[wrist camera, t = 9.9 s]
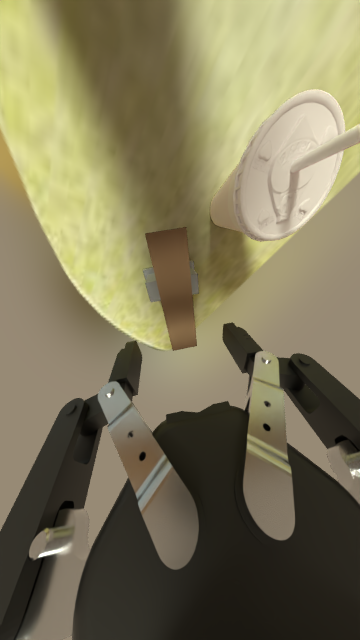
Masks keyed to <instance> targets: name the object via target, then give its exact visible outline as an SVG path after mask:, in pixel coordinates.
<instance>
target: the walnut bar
mask: <svg viewBox="0 0 360 640" xmlns="http://www.w3.org/2000/svg"><path fill="white" fill-rule="evenodd" d="M145 235H146V240H147V244H148V248H149V252H150V257H151V261H152V265H153V269H154V273H155V278H156V282H157V286H158V290H159V294H160V299H161V303H162V307H163V311H164V316H165V320H166V324H167V328H168V332H169V337H170V341H171V345H172V349H173V351H174V350H179V349H184V348H188V347H194V346H197V341H196V330H195V319H194V308H193V297H192V286H191V274H190V263H189V252H188V241H187V230H186V227H183V228H177V229H171V230H164V231H158V232H152V233H146V234H145Z"/></svg>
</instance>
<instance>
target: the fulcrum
mask: <svg viewBox="0 0 360 640" xmlns="http://www.w3.org/2000/svg"><path fill="white" fill-rule="evenodd" d="M189 263H190V274H191V286H192V295H193V294H199V287H198V274H197V273H196V272H195V271H194V261H189ZM143 273H144V276H145V280H146V282H145V284H146V288H147V291H148V295H149V298H150V301H151V302H155V301H161V299H160V294H159V290H158V286H157V282H156V278H155V273H154V269H153V267H152V268H146V269H143Z"/></svg>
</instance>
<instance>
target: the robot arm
mask: <svg viewBox="0 0 360 640" xmlns="http://www.w3.org/2000/svg"><path fill="white" fill-rule="evenodd" d="M223 342H224V344H225V345H226V347H227V349H228V350H229V352H230V354H231V355H232V357H233V359H234V360H235V362H236V364H237V365H238V367H239V368H240V370H241V372H242V373H248V374H249V380H248V386H247V393H246V400H245V404H244V409H241V408H238V407H235V406H230V405H229V402H228V401H227V402H222V403H217V404H213V405H211V406H210V407H208V408H206V409H204V410H202V411H201V412H198V413H195V412H184V411H181V412H177V413H171V414H167V415H166V420H165V421H163V422H162V423H161V424H160V425H159V426H158V427H157V428H156V429H155V430H154V431H153V432H152V431H151V430H150V428H149V426H148V425H147V424H146V422H145V421H144V419H143V418H142V416H141V415H140V413H139V412H138V410H137V409H136V407H135V406H134V404H133V403H132V397H133V396H135V395H138V387H139V379H140V371H141V363H142V354H141V351H140V349H139V346H138V344H137V342H136V341H132V342H127V343H126V346H125V349H122V350H121V351H120V352H119V353H118V354H117V358H116V361H115V363H114V367H113V370H112V373H111V376H110V379H109V382H108V383H107V384H106V385H105V386H103V387H102V388H101V390H100V391H99V393H98V394H97V395H95V396H93V397H91V398H89V399H87V400H85V401H84V400H83V399H81V398H76V399H74V400H72V401H70V402H69V403H67V404H66V405H65V406H64V407H63V408H62V409H61V411H60V413H59V414H58V417H57V418H56V421H55V423H54V425H53V426H52V429H51V431H50V433H49V435H48V437H47V439H46V441H45V443H44V445H43V447H42V449H41V451H40V453H39V455H38V457H37V459H36V461H35V463H34V465H33V467H32V469H31V471H30V473H29V475H28V477H27V479H26V481H25V483H24V485H23V487H22V489H21V491H20V493H19V495H18V497H17V499H16V501H15V503H14V506H13V507H12V509H11V511H10V513H9V515H8V517H7V519H6V521H5V523H4V525H3V527H2V529H1V531H0V640H63V639H65V638H67V637H70V636H72V640H360V399H359V398H358V397H356V396H355V395H354V394H353V393H352V392H351V391H349V390H348V389H347V388H346V387H345V386H344V385H343V384H341V383H340V382H339V381H338V380H337V379H336V378H335V377H333V376H332V375H331V374H330V373H329V372H327V370H325V369H324V368H323V367H322V366H321V365H320V364H318V363H317V362H316V361H315V360H314V359H312V358H311V357H309V356H307V355H304V354H293V355H292V356H291V358H278V357H276V356H274V355H273V354H271V353H269V352H266V351H263V350H262V349H261V347H260V346H259V345H258V344H257V343H256V342H255V341H254V340H253V339H252V338H251V336H250V335H248V333H247V332H246V331H245V330H244V329H242V328H240V327H236V326H235V325H234V323H227V324H224V326H223ZM282 388H283V389H284V391H285V392H286V393H287V395H288V396H289V397H290V399H291V400H292V401H293V403H294V404H295V406H296V407H297V408H298V410H299V411H300V412H301V414H302V415H303V416H304V418H305V419H306V421H307V422H308V423H309V425H310V426H311V427H312V429H313V430H314V431H315V433H316V434H317V436H318V437H319V438H320V440H321V441H322V442H323V444H324V445H325V446H326V448H327V449H328V451H327V457H328V460H329V462H330V466H331V469H332V470H333V472H334V473H335V474H336V475H337V478H338V481H336V480H335V479H334V478H332V477H331V476H330V475H328V474H327V473H326V472H325V471H323V470H322V469H321V468H320V467H318V466H317V465H316V464H314V463H313V462H312V461H310V460H309V459H308V458H307V457H305V456H304V455H303V454H301V453H300V452H299V451H298V450H296V449H295V448H294V447H292V446H291V445H290V444H288V443H287V439H286V423H285V409H284V408H285V407H284V392H283V389H282ZM309 388H310V389H309ZM108 423H109V425H108V430H109V433H110V435H111V437H112V439H113V442H114V444H115V447H116V449H117V451H118V454H119V456H120V458H121V461H122V463H123V466H124V468H125V470H126V472H127V475H128V479H127V481H126V483H125V485H124V487H123V489H122V490H121V492H120V494H119V496H118V498H117V500H116V502H115V504H114V506H113V507H112V509H111V511H110V513H109V515H108V517H107V519H106V521H105V522H104V525H103V526H102V528H101V530H100V532H99V534H98V536H97V538H96V539H95V542H94V544H93V546H92V548H91V550H90V548H89V544H88V531H89V516H88V513H87V511H86V510H85V509H84V505H85V501H86V497H87V492H88V488H89V484H90V479H91V475H92V471H93V466H94V462H95V458H96V453H97V450H98V445H99V441H100V437H101V433H102V428H103V426H105V425H107V424H108Z"/></svg>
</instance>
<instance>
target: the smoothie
mask: <svg viewBox="0 0 360 640" xmlns="http://www.w3.org/2000/svg"><path fill="white" fill-rule="evenodd" d="M358 143H360V124H358V125H356V126H355V127H353V128H351V129H349V130H348V131H346V132H345V122H344V117H343V113H342V110H341V108H340V106H339V104H338V102H337V101H336V99H335V98H334V97H333V96H332V95H330V94H329V93H327V92H325V91H322V90H316V89H312V90H306V91H303V92H300V93H298V94H296V95H294V96H293V97H291V98H290V99H288V100H287V101H285V102H284V103H283V104H282V105H281V106H280V107H279V108H278V109H277V110H276V111H275V112H274V113H273V114H272V115H271V116H269V117H268V118H267V119H266V120H265V121H264V122H263V123H262V124H261V125H260V127H259V128H258V129H257V131H256V132H255V134H254V135H253V136H252V138H251V139H250V141H249V143H248V145H247V147H246V149H245V151H244V153H243V155H242V157H241V159H240V162H239V164H238V165H237V166H236V168H235V169H234V170H233V172H232V173H231V174H230V176H229V177H228V178H227V180H226V181H225V182H224V183H223V185H222V186H221V187H220V189H219V190H218V191H217V193H216V194H215V196H214V197H213V199H212V202H211V205H210V216H211V219H212V221H213V223H214V224H215V225H217V226H219V227H223V228H227V229H231V230H236V231H240V232H243V233H244V234H245V235H247V236H248V237H250V238H251V239H253V240H257V241H272V240H279V239H282V238H285V237H287V236H289V235H291V234H293V233H294V232H296V231H297V230H299V229H300V228H301V227H302V226H304V225H305V224H306V223H307V222H308V221H309V220H310V219H311V218H312V216H313V215H314V214H315V213H316V212H317V210H318V209H319V208H320V206H321V205H322V203H323V202H324V200H325V199H326V197H327V195H328V193H329V191H330V190H331V188H332V186H333V184H334V181H335V179H336V176H337V174H338V171H339V168H340V164H341V161H342V157H343V152H344V150H345V149H347V148H349V147H351V146H353V145H355V144H358Z"/></svg>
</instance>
